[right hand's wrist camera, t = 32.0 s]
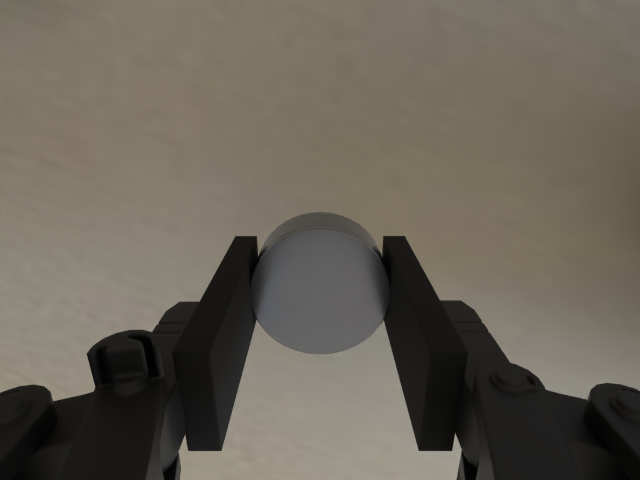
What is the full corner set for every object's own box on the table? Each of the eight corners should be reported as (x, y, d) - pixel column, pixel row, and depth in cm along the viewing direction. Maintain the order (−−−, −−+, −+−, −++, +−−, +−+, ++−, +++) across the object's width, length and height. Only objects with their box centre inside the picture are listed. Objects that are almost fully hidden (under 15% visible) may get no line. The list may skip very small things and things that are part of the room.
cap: (268, 199, 13) (261, 215, 12) (398, 226, 14) (409, 246, 12) (248, 312, 15) (239, 341, 13) (364, 334, 15) (370, 364, 14)
